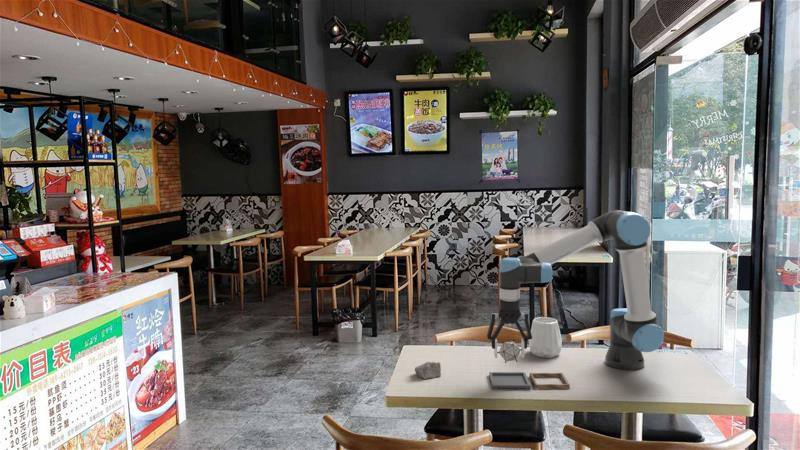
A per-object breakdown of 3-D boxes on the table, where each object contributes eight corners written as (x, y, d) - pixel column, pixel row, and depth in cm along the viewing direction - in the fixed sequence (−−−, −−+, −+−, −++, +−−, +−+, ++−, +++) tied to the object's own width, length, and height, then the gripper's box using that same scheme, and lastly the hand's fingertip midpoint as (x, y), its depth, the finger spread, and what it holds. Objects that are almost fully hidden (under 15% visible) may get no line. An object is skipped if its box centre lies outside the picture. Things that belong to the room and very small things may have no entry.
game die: (513, 372, 228) (522, 356, 222) (492, 363, 230) (500, 347, 223) (518, 354, 235) (526, 339, 228) (498, 346, 236) (505, 330, 230)
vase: (529, 358, 258) (529, 323, 256) (527, 348, 271) (528, 315, 270) (563, 359, 255) (563, 324, 254) (560, 349, 269) (560, 316, 267)
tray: (524, 375, 237) (524, 372, 237) (531, 389, 223) (531, 385, 223) (489, 375, 238) (489, 372, 238) (492, 389, 224) (492, 385, 224)
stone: (437, 371, 244) (437, 357, 243) (442, 378, 236) (442, 364, 236) (413, 373, 242) (413, 359, 241) (418, 380, 234) (418, 366, 233)
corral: (562, 376, 236) (562, 372, 236) (569, 388, 223) (569, 384, 223) (529, 376, 236) (529, 372, 236) (535, 388, 224) (535, 384, 224)
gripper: (537, 296, 230) (536, 353, 233) (479, 296, 231) (479, 353, 234) (541, 301, 223) (540, 360, 225) (481, 301, 224) (480, 360, 226)
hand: (509, 356), depth 229 cm, fingers closed on game die, 9 cm apart
